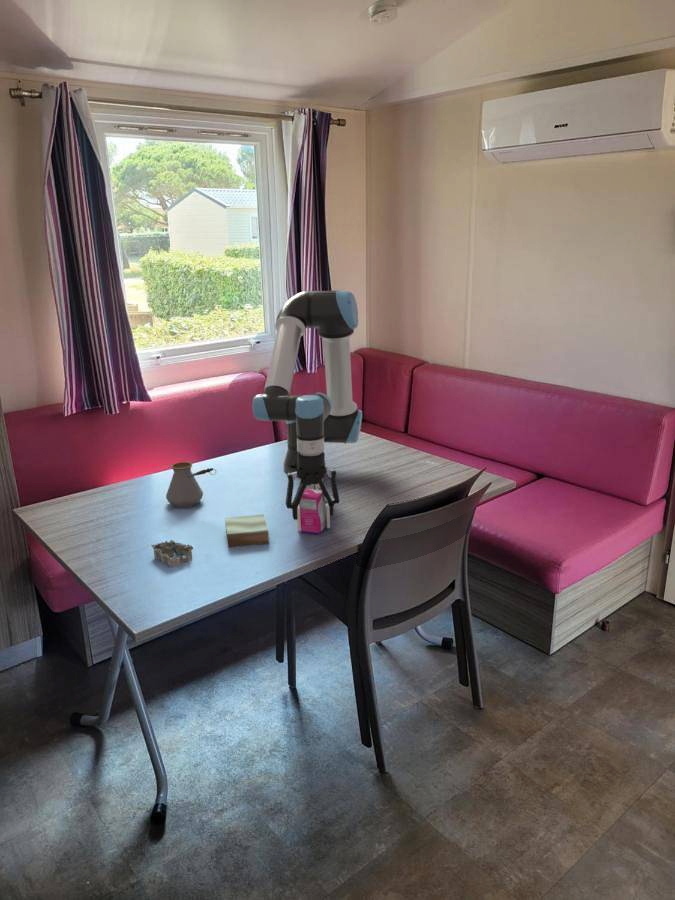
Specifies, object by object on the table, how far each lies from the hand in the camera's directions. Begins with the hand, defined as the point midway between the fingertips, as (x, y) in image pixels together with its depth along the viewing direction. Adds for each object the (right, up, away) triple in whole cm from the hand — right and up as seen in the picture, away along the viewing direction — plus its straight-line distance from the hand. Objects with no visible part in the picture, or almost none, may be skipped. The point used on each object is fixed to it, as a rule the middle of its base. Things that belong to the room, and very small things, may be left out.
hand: (313, 527), depth 190 cm
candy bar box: (-1, +5, +18) cm, 18 cm away
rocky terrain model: (-36, -7, -15) cm, 40 cm away
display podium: (-19, -2, -3) cm, 19 cm away
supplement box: (0, -1, 0) cm, 1 cm away
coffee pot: (-38, +4, +18) cm, 42 cm away
